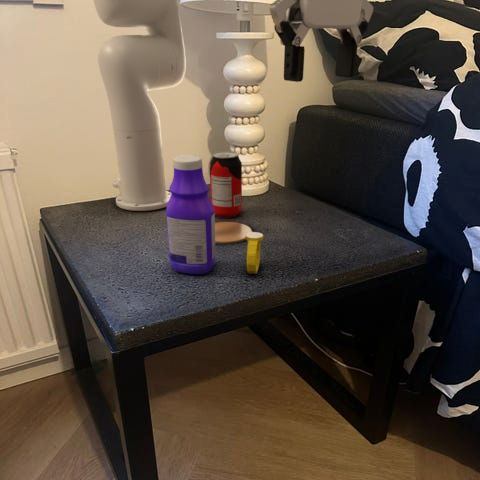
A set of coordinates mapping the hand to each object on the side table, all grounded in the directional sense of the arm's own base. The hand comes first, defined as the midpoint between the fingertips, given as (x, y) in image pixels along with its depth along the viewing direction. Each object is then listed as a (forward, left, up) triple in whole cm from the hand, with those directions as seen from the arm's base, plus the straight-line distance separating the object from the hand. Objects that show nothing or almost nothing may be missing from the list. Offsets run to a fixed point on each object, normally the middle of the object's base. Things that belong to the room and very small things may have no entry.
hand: (319, 78), depth 65 cm
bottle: (-12, -14, -27) cm, 33 cm away
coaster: (-18, +1, -27) cm, 32 cm away
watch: (-4, -9, -27) cm, 29 cm away
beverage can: (-24, +9, -27) cm, 38 cm away
